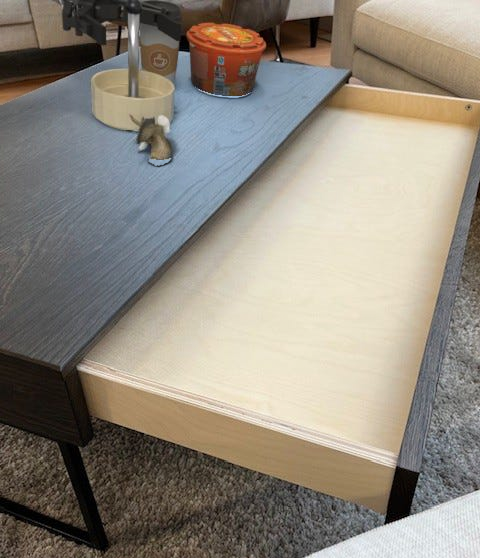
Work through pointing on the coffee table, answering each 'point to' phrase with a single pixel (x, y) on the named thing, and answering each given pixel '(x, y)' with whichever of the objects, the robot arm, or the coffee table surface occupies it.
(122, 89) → the bowl
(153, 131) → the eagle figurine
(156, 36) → the coffee cup
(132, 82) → the ball-top lever stand
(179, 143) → the coffee table surface
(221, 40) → the food container
